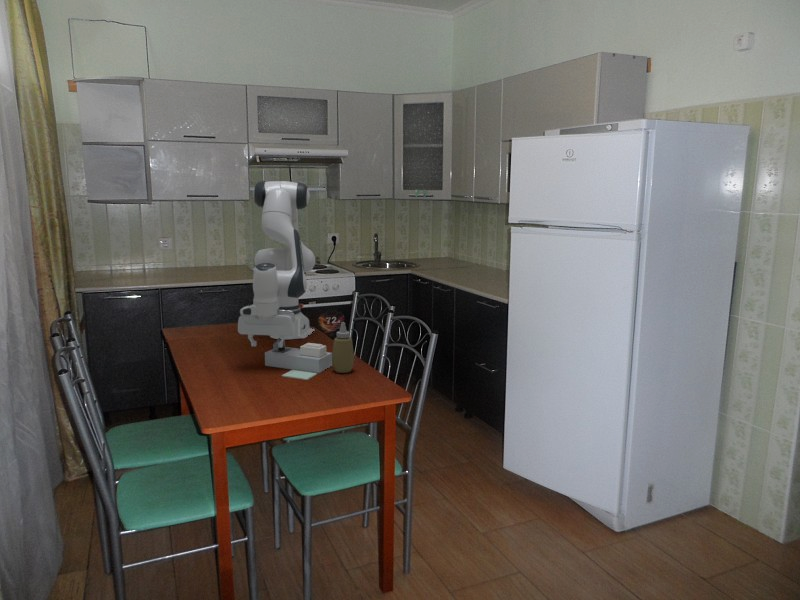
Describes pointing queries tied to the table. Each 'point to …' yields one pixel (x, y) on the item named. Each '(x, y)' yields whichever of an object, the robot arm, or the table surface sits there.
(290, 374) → the pad
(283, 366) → the block
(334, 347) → the squeeze bottle
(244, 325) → the robot arm
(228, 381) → the table surface
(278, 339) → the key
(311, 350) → the cover
